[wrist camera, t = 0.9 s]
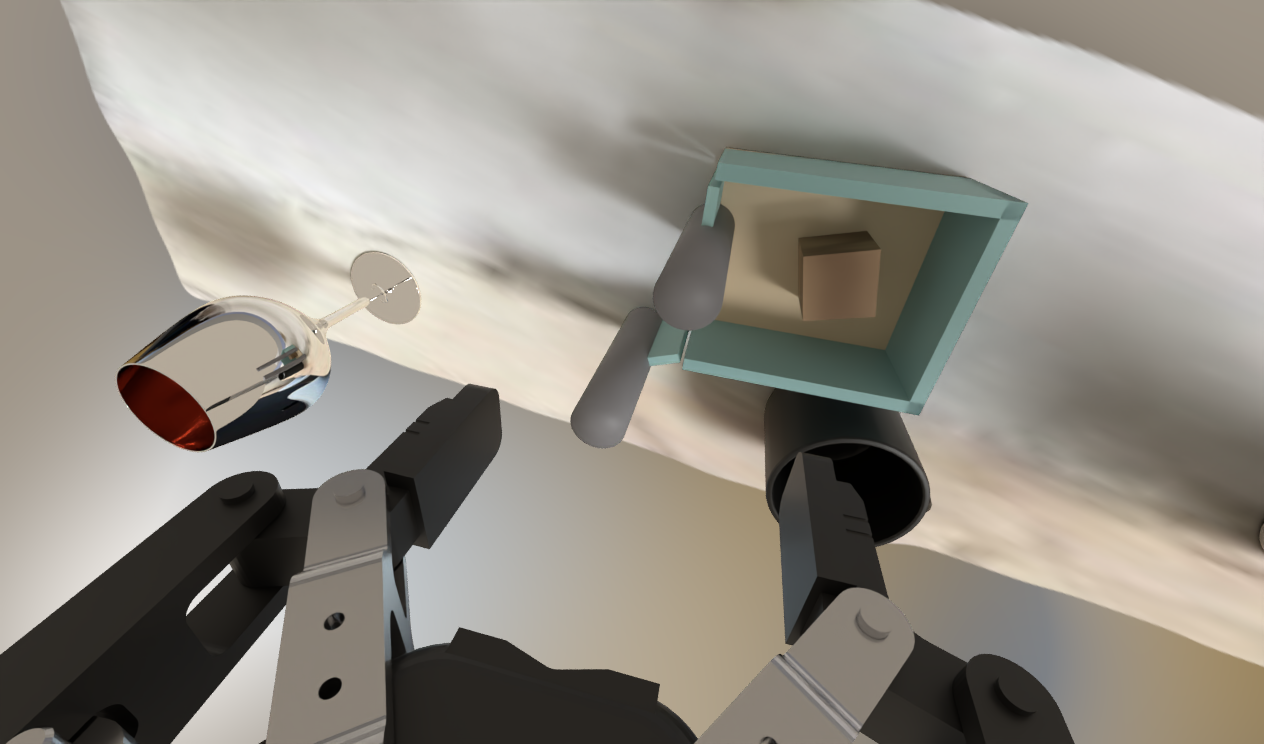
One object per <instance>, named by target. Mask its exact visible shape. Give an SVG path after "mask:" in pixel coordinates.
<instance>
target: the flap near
mask: <svg viewBox="0 0 1264 744" xmlns="http://www.w3.org/2000/svg"><path fill="white" fill-rule="evenodd" d="M716 171H717V169H716ZM716 171H715V173H714V175H713V177H712V179H711V181H710V183H709V185H708V189H707V195H706V201H705V204H703V205H701V206H699V207H698V208H697V209H695V210H694V212H693V213H692V214H691V216H690V218H689V220H688V222H687V224H686V226H685V228H684V230H683V232H682V234H681V236H680V238H679V240H678V242H677V244H676V245H675V247H674V249H673V251H672V253H671V255H670V257H669V259H668V261H667V263H666V265H665V267H664V269H663V271H662V273H661V275H660V277H659V278H658V280H657V282H656V284H655V287H654V291H653V302H654V306H655V309H656V311H657V313H658V314H659V316H660V317H661V318H662V319H663V320H664V321H665V322H666V323H667V324H669V325H670V326H672V327H674V328H677V329H681V330H697V329H701V328H704V327H706V326H707V325H709V324H710V323H712V322H713V321H714V320H715V319H716V317H717V316H718V314H719V313H720V311H721V308H722V304H723V298H724V292H725V286H726V279H727V273H728V267H729V261H730V255H731V248H732V242H733V236H734V230H735V221H734V217H733V215H732V213H731V212H730V211H729V209H728V208H726V207H725V206H723V205H722V204H720V203H721V197H722V192H723V186H724V181H719V180H715V177H716Z"/></svg>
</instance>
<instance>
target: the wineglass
mask: <svg viewBox="0 0 1264 744" xmlns="http://www.w3.org/2000/svg"><path fill="white" fill-rule="evenodd" d="M351 281H352V285H353V289H354V291H355V293H356V295H357V297H358V299H357V300H356V301H354V302H352V303H350V304H348V305H346V306H344V307H342V308H341V309H339V310H337V311H335V312H333V313H331V314H329V315H327V316H325V317H323V318H321V319H315V318H311V317H309V316H307V315H306V314H304V313H302V312H301V311H299V310H297V309H295V308H293V307H291V306H289V305H287V304H285V303H282V302H279V301H276V300H273V299H269V298H264V297H258V296H247V295H239V296H229V297H224V298H220V299H216V300H214V301H211V302H209V303H207V304H205V305H203V306H201V307H199V308H198V309H196V310H194V311H192V312H191V313H189V314H188V315H187V316H185V317H184V318H182V319H181V320H179V321H178V322H177V323H175V324H174V325H173V326H171V327H170V328H169V329H167V330H166V331H165V332H163V333H162V334H161V335H159V336H158V337H157V338H156V339H154V340H153V341H152V342H151V343H149V344H148V345H147V346H145V347H144V348H143V349H142V350H140V351H139V352H138V353H137V354H136V355H134V356H133V357H132V358H131V359H129V360H128V361H127V362H126V363H124V364H123V365H122V366H121V367H119V368H118V370H117V372H116V375H115V381H116V386H117V389H118V392H119V394H120V396H121V398H122V400H123V401H124V403H125V404H126V406H127V407H128V409H129V410H130V411H131V412H132V413H133V415H134V416H135V417H136V418H137V419H138V420H139V421H140V422H141V423H142V424H143V425H144V426H145V427H147V428H148V429H149V430H150V431H151V432H153V433H154V434H155V435H157V436H158V437H160V438H162V439H163V440H165V441H166V442H168V443H170V444H172V445H174V446H176V447H179V448H181V449H184V450H187V451H192V452H206V451H209V450H211V449H214V448H217V447H219V446H222V445H225V444H227V443H230V442H233V441H236V440H238V439H241V438H244V437H246V436H249V435H252V434H254V433H257V432H259V431H261V430H264V429H267V428H269V427H272V426H274V425H277V424H279V423H281V422H284V421H286V420H288V419H290V418H293V417H295V416H297V415H298V414H300V413H302V412H304V411H305V410H307V409H308V408H309V407H311V406H312V405H313V404H314V403H315V402H316V401H317V400H318V399H319V398H320V396H321V395H322V393H323V392H324V390H325V388H326V386H327V383H328V381H329V377H330V372H331V354H330V349H329V345H328V342H327V339H326V333H327V330H328V328H330V327H331V326H333V325H335V324H337V323H338V322H340V321H342V320H344V319H345V318H347V317H349V316H351V315H352V314H354V313H356V312H358V311H359V310H361V309H363V308H366V309H367V310H368V311H369V312H370V313H372V314H373V315H374V316H376V317H377V318H379V319H381V320H383V321H385V322H388V323H391V324H405V323H408V322H410V321H412V320H413V319H414V318H415V317H416V316H417V315H418V313H419V311H420V308H421V293H420V289H419V286H418V284H417V282H416V280H415V278H414V277H413V275H412V274H411V272H410V271H409V270H408V269H407V268H406V267H405V266H404V265H403V264H402V263H401V262H400V261H398V260H397V259H395V258H393V257H392V256H389V255H387V254H384V253H380V252H369V253H365V254H363V255H361V256H360V257H358V258H357V259H356V261H355V262H354V264H353V266H352V270H351Z"/></svg>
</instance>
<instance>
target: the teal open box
mask: <svg viewBox="0 0 1264 744" xmlns="http://www.w3.org/2000/svg"><path fill="white" fill-rule="evenodd" d="M715 180H719V181H724V186H723V192H722V197H721V203H720V204H722V205H723V206H725V207H726V208H728V209H729V211H730V212H731V213H732V215H733V217H734V221H735V230H734V236H733V242H732V248H731V255H730V261H729V267H728V273H727V279H726V286H725V292H724V298H723V304H722V308H721V311H720V313H719V314H718V316H717V317H716V319H715V320H714V321H713V322H712V323H710V324H709V325H707V326H706V327H704V328H701V329H697V330H692V331H691V335H690V339H689V342H688V346H687V350H686V353H685V357H684V362H683V368H682V369H683V370H688V371H693V372H698V373H703V374H708V375H714V376H719V377H724V378H729V379H734V380H739V381H744V382H750V383H755V384H760V385H765V386H770V387H775V388H780V389H785V390H791V391H796V392H801V393H806V394H811V395H816V396H821V397H827V398H832V399H837V400H842V401H847V402H852V403H857V404H863V405H868V406H873V407H878V408H883V409H888V410H893V411H899V412H904V413H909V414H914V415H919V414H920V412H921V410H922V408H923V407H924V405H925V403H926V401H927V399H928V397H929V395H930V393H931V391H932V389H933V387H934V385H935V383H936V381H937V379H938V377H939V376H940V374H941V372H942V370H943V368H944V366H945V364H946V362H947V360H948V358H949V356H950V354H951V352H952V350H953V348H954V346H955V345H956V343H957V341H958V339H959V337H960V335H961V333H962V331H963V329H964V327H965V325H966V323H967V321H968V319H969V317H970V315H971V314H972V312H973V310H974V308H975V306H976V304H977V302H978V300H979V298H980V296H981V294H982V292H983V290H984V288H985V286H986V284H987V283H988V281H989V279H990V277H991V275H992V273H993V271H994V269H995V267H996V265H997V263H998V261H999V259H1000V257H1001V255H1002V253H1003V252H1004V250H1005V248H1006V246H1007V244H1008V242H1009V240H1010V238H1011V236H1012V234H1013V232H1014V230H1015V228H1016V226H1017V224H1018V222H1019V221H1020V219H1021V217H1022V215H1023V213H1024V211H1025V209H1026V207H1027V205H1028V203H1026V202H1024V201H1022V200H1019V199H1017V198H1015V197H1012V196H1010V195H1008V194H1006V193H1003V192H1001V191H999V190H996V189H994V188H992V187H989V186H987V185H985V184H982V183H980V182H978V181H976V180H973V179H971V178H965V177H957V176H949V175H941V174H933V173H925V172H917V171H909V170H901V169H893V168H886V167H878V166H870V165H862V164H854V163H846V162H838V161H830V160H822V159H814V158H806V157H798V156H791V155H783V154H775V153H767V152H759V151H751V150H743V149H735V148H727V147H726V148H725V150H724V152H723V154H722V156H721V158H720V160H719V162H718V166H717V171H716V177H715ZM860 231H868V233H869V234H870V235H871V237H872V238H873V239H874V241H875V242H876V243H877V245H878V246H879V247H880V249H881V257H880V268H879V280H878V292H877V303H876V315H875V317H866V318H848V319H831V320H814V321H803V319H802V314H801V309H800V304H799V298H798V238H802V237H812V236H822V235H831V234H841V233H851V232H860Z"/></svg>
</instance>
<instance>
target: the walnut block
mask: <svg viewBox="0 0 1264 744" xmlns="http://www.w3.org/2000/svg"><path fill="white" fill-rule="evenodd" d="M880 257H881V249H880V247H879V246H878V245H877V243H876V242H875V241H874V239H873V238H872V237H871V235H870V234H869V233H868V231H860V232H851V233H841V234H831V235H822V236H812V237H802V238H798V298H799V304H800V309H801V314H802V319H803V321H814V320H831V319H848V318H866V317H875V315H876V303H877V292H878V280H879V268H880Z"/></svg>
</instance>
